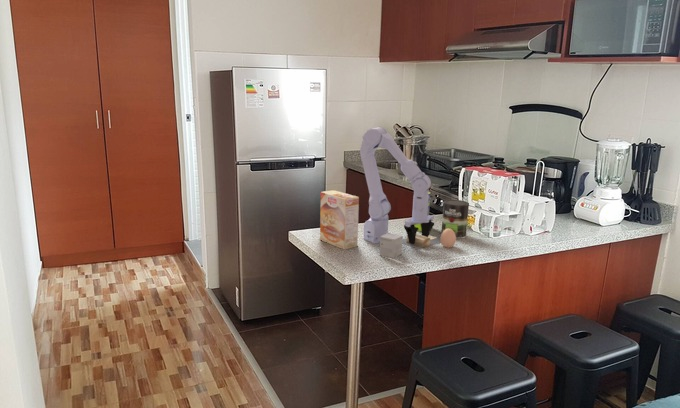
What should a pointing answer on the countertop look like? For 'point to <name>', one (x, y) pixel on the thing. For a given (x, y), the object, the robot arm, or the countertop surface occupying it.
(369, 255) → the countertop surface
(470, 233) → the countertop surface
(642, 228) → the countertop surface
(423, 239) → the card box
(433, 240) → the mat
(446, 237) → the egg
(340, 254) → the countertop surface
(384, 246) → the product box
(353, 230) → the coffeecake box
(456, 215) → the coffee can
